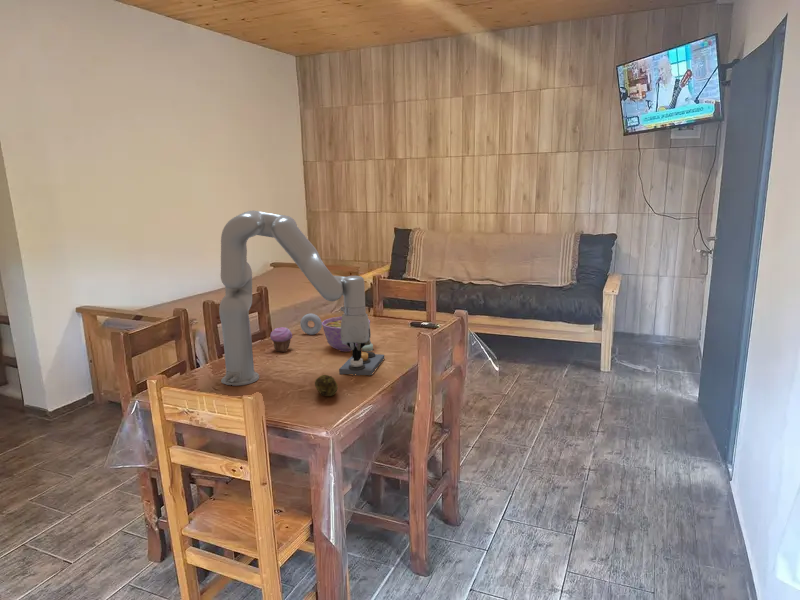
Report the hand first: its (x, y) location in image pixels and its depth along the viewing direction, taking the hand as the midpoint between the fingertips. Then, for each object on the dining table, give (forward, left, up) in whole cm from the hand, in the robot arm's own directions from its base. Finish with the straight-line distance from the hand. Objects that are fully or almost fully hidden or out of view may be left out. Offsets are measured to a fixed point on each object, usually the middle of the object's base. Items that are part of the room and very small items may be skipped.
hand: (357, 359), depth 204 cm
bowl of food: (+28, +13, -5) cm, 31 cm away
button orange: (+7, 0, -2) cm, 7 cm away
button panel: (+7, 0, -5) cm, 9 cm away
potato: (-23, +3, -5) cm, 24 cm away
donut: (+46, +36, -5) cm, 59 cm away
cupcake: (+21, +39, -5) cm, 45 cm away
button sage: (+14, 0, -1) cm, 14 cm away
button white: (0, 0, -2) cm, 2 cm away
